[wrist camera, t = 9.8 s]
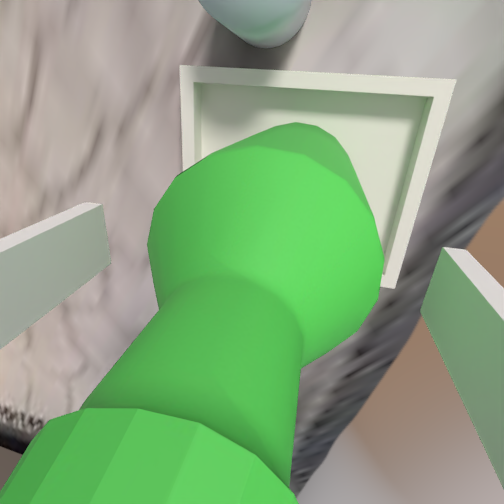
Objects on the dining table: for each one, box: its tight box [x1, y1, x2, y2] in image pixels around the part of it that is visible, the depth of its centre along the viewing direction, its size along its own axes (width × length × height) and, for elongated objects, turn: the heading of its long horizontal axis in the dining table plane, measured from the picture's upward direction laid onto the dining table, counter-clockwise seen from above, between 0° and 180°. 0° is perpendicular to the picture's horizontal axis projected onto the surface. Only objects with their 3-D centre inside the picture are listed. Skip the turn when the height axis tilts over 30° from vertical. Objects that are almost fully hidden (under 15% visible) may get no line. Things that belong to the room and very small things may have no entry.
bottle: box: [0, 122, 384, 504], centre depth 15 cm, size 9×9×25 cm
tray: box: [180, 65, 456, 289], centre depth 25 cm, size 18×15×2 cm
